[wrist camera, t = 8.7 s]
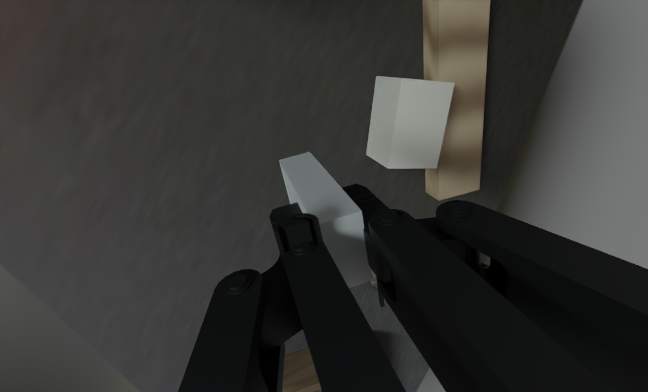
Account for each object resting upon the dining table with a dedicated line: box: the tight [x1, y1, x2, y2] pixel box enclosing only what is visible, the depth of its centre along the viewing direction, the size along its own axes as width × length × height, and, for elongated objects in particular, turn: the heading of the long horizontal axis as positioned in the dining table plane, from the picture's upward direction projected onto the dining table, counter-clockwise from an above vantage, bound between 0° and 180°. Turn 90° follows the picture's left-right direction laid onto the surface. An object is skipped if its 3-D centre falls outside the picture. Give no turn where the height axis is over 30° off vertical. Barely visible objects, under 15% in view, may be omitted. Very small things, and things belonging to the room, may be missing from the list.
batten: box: [423, 0, 490, 200], centre depth 39 cm, size 24×6×3 cm, turn 9°
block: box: [366, 76, 455, 169], centre depth 37 cm, size 9×6×6 cm, turn 176°
